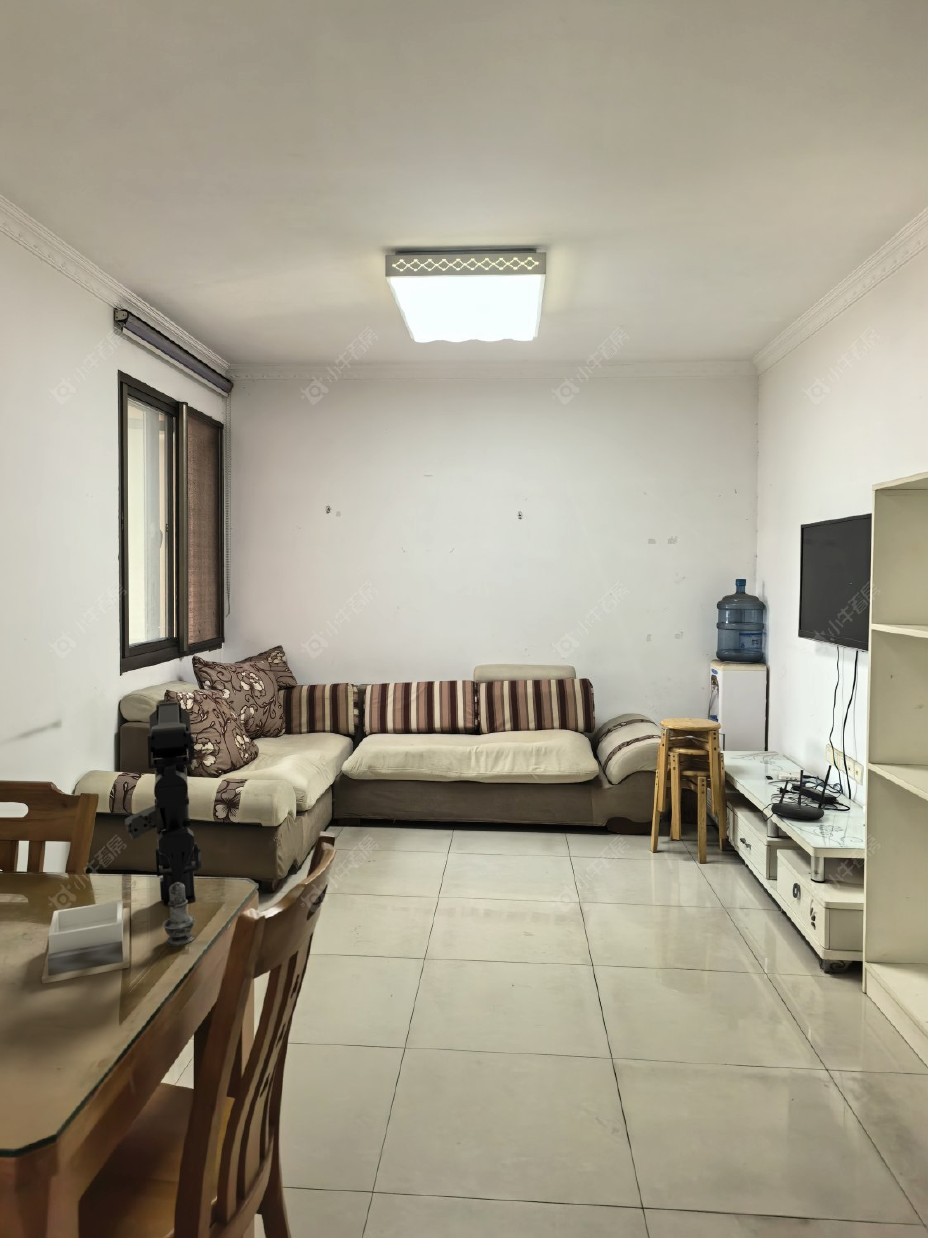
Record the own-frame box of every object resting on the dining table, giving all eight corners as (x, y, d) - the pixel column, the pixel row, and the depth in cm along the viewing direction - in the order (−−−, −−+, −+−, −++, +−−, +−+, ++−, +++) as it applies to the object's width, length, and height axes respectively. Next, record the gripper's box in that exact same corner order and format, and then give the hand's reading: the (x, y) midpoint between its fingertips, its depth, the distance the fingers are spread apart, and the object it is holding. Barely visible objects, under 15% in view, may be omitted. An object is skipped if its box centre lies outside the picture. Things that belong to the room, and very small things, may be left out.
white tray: (123, 927, 164) (122, 900, 164) (123, 952, 153) (121, 923, 153) (55, 938, 160) (54, 911, 160) (50, 965, 149) (48, 935, 148)
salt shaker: (202, 935, 162) (199, 874, 162) (182, 948, 157) (179, 885, 156) (177, 932, 164) (173, 872, 164) (156, 945, 159) (153, 883, 158)
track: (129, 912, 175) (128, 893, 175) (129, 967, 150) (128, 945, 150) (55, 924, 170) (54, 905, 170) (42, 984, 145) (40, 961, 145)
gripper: (126, 787, 165) (130, 864, 166) (126, 811, 147) (131, 898, 148) (186, 780, 169) (190, 856, 170) (192, 802, 151) (196, 887, 152)
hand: (176, 873), depth 160 cm, fingers open, 9 cm apart
